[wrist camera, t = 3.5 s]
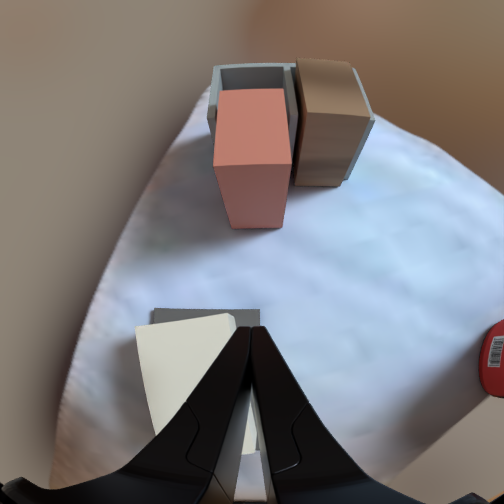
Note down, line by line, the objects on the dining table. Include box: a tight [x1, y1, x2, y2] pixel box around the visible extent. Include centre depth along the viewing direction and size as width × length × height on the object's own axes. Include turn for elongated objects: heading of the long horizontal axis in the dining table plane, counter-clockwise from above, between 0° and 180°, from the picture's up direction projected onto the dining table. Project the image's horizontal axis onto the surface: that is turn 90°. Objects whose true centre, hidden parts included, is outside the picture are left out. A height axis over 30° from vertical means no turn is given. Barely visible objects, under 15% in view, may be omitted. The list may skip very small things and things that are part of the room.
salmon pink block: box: [213, 89, 292, 229], centre depth 19 cm, size 6×4×9 cm, turn 0°
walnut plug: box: [292, 58, 371, 186], centre depth 20 cm, size 6×4×9 cm, turn 0°
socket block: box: [207, 63, 375, 179], centre depth 21 cm, size 6×11×8 cm, turn 90°
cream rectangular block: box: [135, 313, 257, 455], centre depth 17 cm, size 9×6×4 cm, turn 10°
